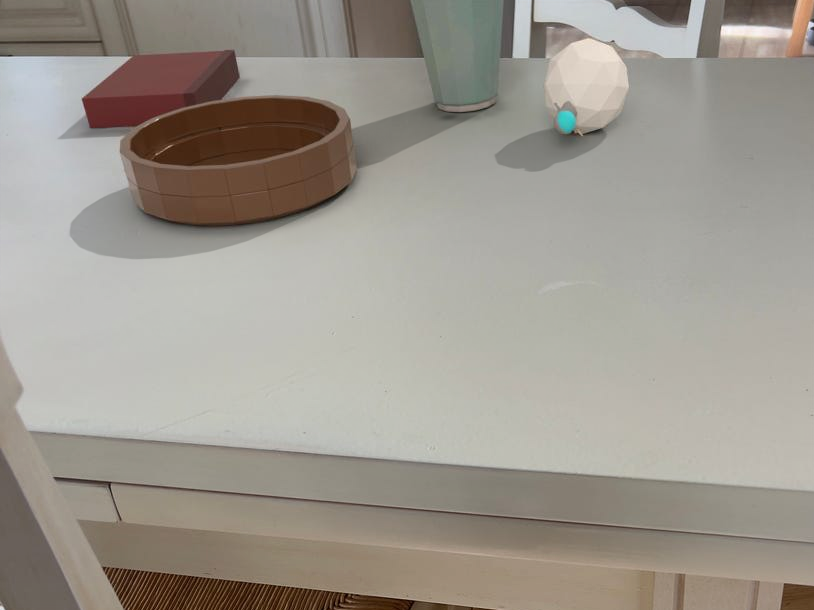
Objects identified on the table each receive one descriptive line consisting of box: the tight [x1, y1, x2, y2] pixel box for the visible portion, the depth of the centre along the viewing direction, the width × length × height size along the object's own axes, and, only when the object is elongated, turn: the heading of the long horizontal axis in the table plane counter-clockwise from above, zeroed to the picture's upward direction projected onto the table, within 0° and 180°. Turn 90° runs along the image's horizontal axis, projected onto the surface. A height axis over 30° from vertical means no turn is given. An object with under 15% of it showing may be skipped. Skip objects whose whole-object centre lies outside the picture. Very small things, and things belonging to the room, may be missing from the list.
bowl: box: [119, 94, 358, 227], centre depth 90 cm, size 20×20×5 cm
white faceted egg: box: [542, 37, 630, 137], centre depth 94 cm, size 8×8×12 cm
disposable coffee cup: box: [410, 0, 505, 113], centre depth 102 cm, size 11×11×15 cm
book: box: [81, 49, 241, 129], centre depth 113 cm, size 12×17×3 cm
